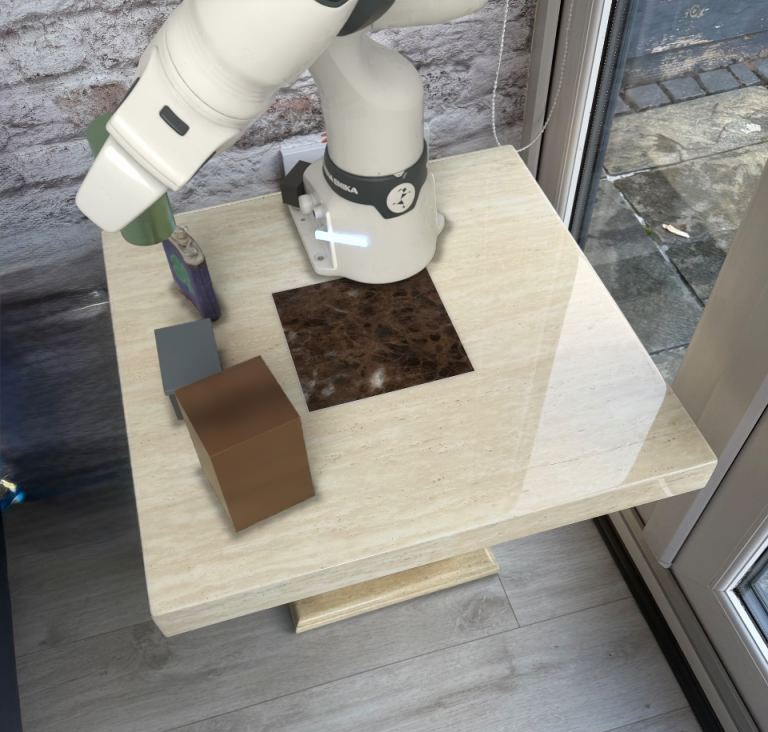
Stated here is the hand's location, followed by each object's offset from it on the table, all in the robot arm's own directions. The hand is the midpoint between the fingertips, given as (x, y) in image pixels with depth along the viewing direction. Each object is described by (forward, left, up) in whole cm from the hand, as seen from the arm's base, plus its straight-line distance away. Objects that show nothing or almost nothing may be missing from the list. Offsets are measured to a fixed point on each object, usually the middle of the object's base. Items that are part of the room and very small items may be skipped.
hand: (125, 176), depth 73 cm
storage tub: (0, 0, -28) cm, 28 cm away
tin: (0, 0, -5) cm, 5 cm away
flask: (-13, +6, -28) cm, 32 cm away
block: (+16, +1, -28) cm, 32 cm away
